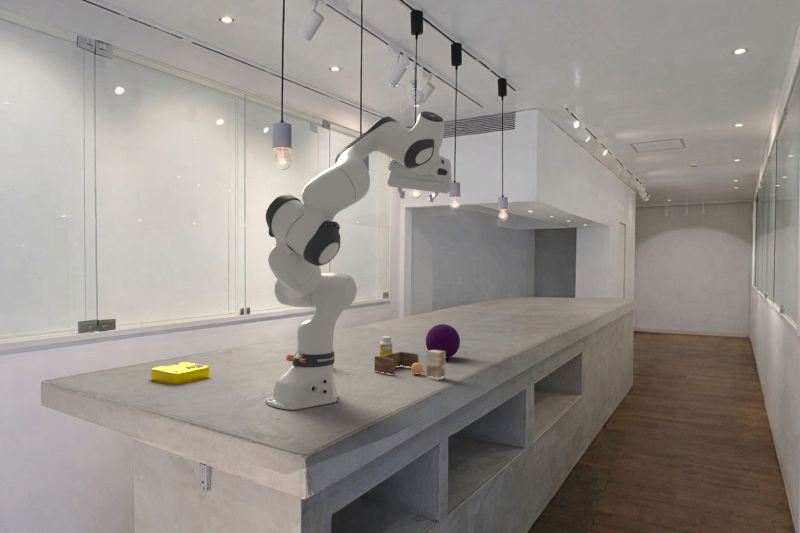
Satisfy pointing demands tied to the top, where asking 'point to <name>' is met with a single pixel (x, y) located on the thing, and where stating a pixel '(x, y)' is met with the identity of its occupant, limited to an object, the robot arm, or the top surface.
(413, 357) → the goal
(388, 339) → the supplement bottle
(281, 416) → the top surface
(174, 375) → the element tile
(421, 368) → the ball
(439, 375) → the block
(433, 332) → the toy ball
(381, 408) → the top surface
